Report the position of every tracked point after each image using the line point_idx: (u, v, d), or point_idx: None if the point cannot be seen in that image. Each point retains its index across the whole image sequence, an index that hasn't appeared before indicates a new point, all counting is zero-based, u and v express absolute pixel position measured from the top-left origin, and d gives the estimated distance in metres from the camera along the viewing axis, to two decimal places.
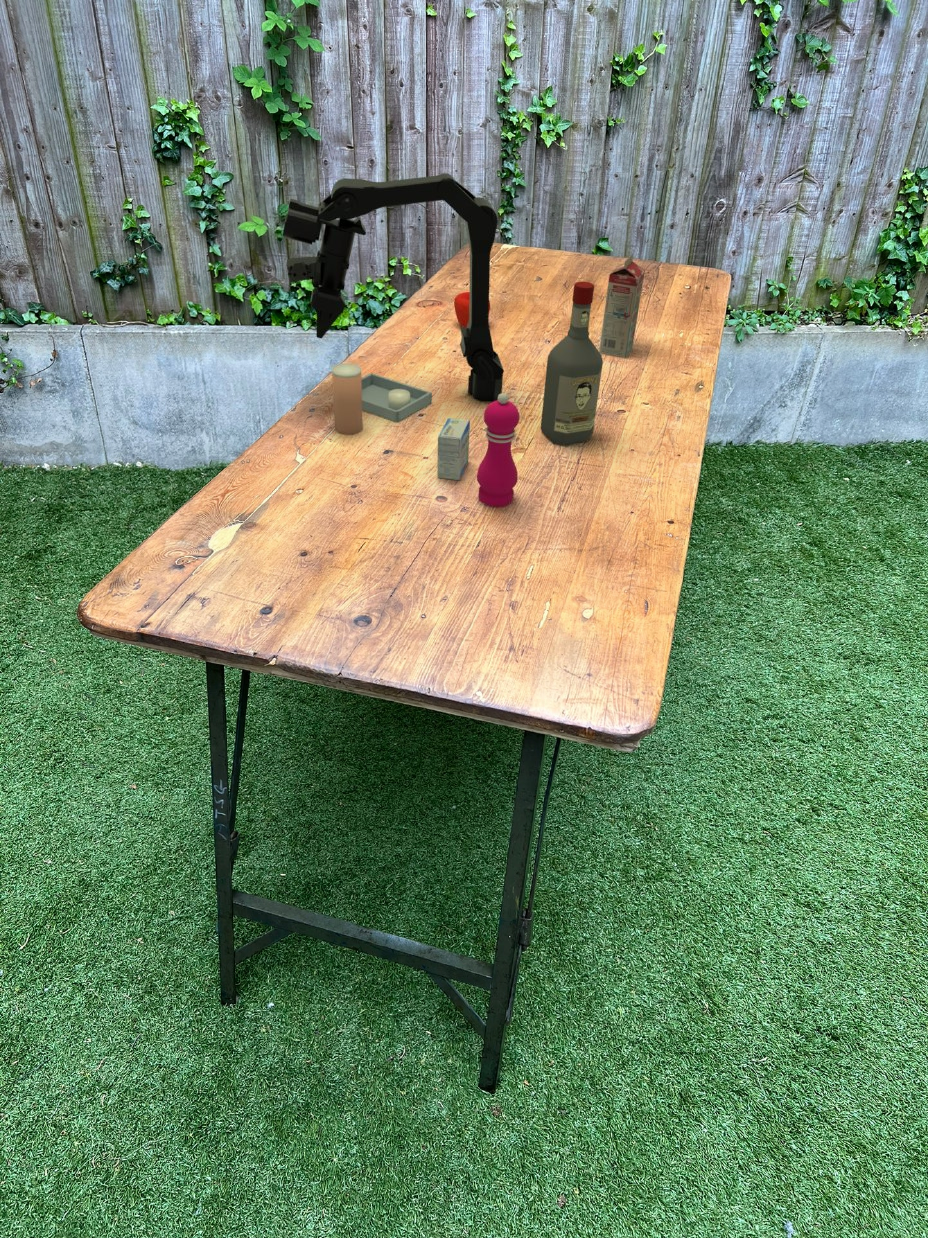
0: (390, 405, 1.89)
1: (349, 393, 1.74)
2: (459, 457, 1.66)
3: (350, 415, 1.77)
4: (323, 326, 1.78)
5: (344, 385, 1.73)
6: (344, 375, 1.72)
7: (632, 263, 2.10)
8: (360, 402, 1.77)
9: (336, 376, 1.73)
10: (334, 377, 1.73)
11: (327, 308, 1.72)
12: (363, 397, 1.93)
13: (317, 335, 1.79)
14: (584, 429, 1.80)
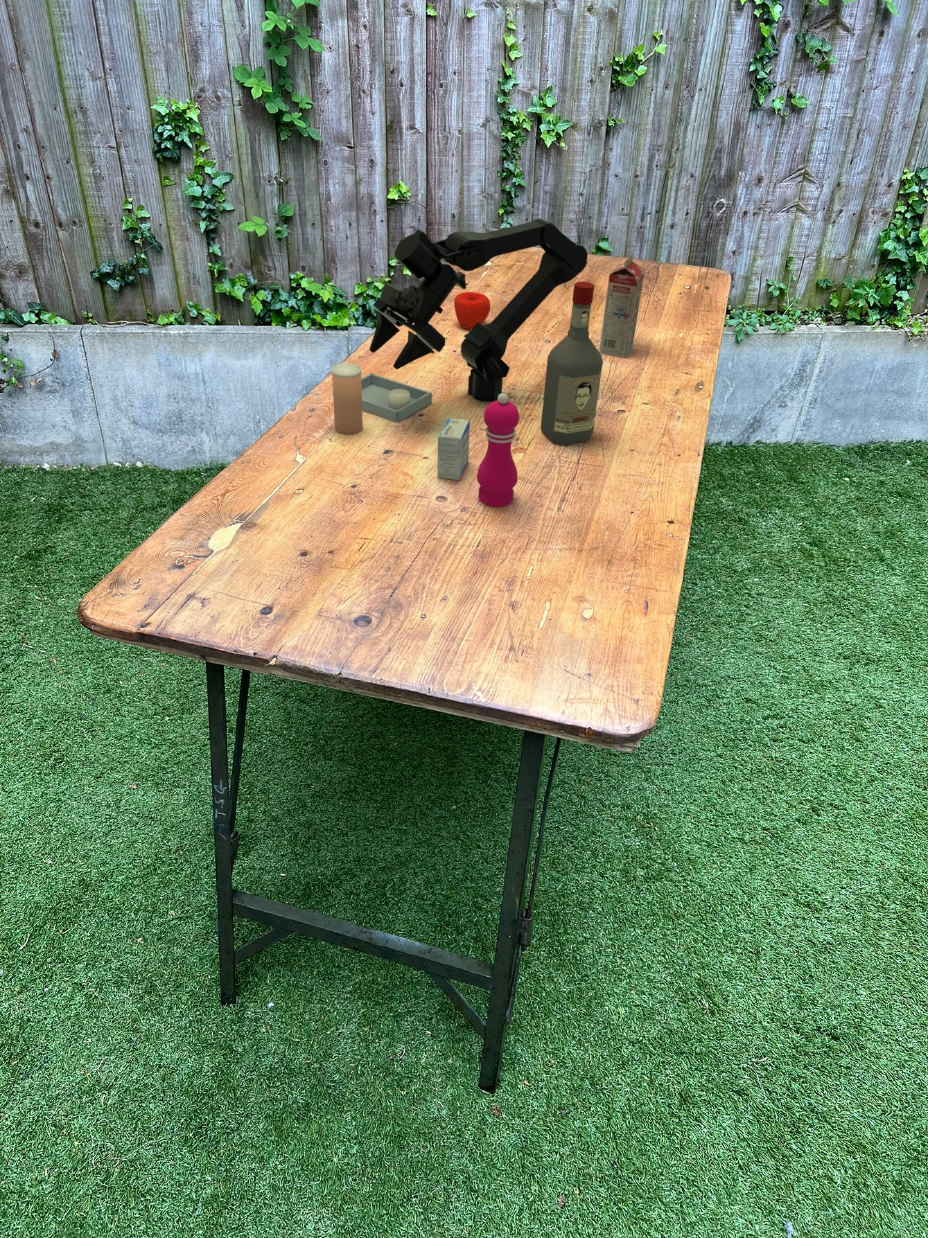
0: (390, 405, 1.89)
1: (349, 393, 1.74)
2: (459, 457, 1.66)
3: (350, 415, 1.77)
4: (407, 358, 1.74)
5: (344, 385, 1.73)
6: (344, 375, 1.72)
7: (632, 263, 2.10)
8: (360, 402, 1.77)
9: (336, 376, 1.73)
10: (334, 377, 1.73)
11: (432, 343, 1.71)
12: (363, 397, 1.93)
13: (395, 365, 1.74)
14: (584, 429, 1.80)
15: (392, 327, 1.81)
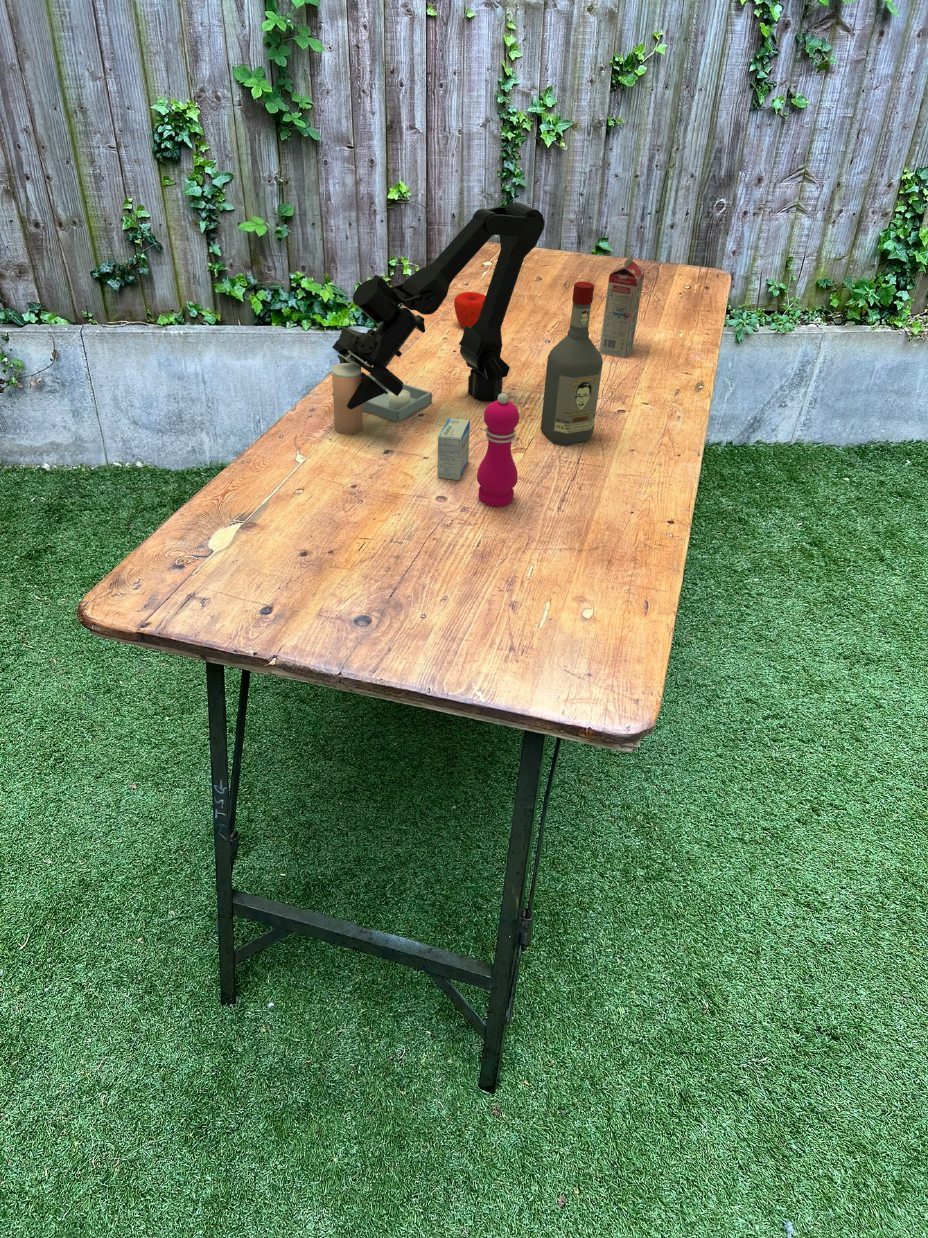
0: (390, 405, 1.89)
1: (349, 393, 1.74)
2: (459, 457, 1.66)
3: (350, 415, 1.77)
4: (360, 399, 1.75)
5: (344, 385, 1.73)
6: (344, 375, 1.72)
7: (632, 263, 2.10)
8: None
9: (336, 376, 1.73)
10: (334, 377, 1.73)
11: (390, 388, 1.71)
12: None
13: (349, 405, 1.75)
14: (584, 429, 1.80)
15: None
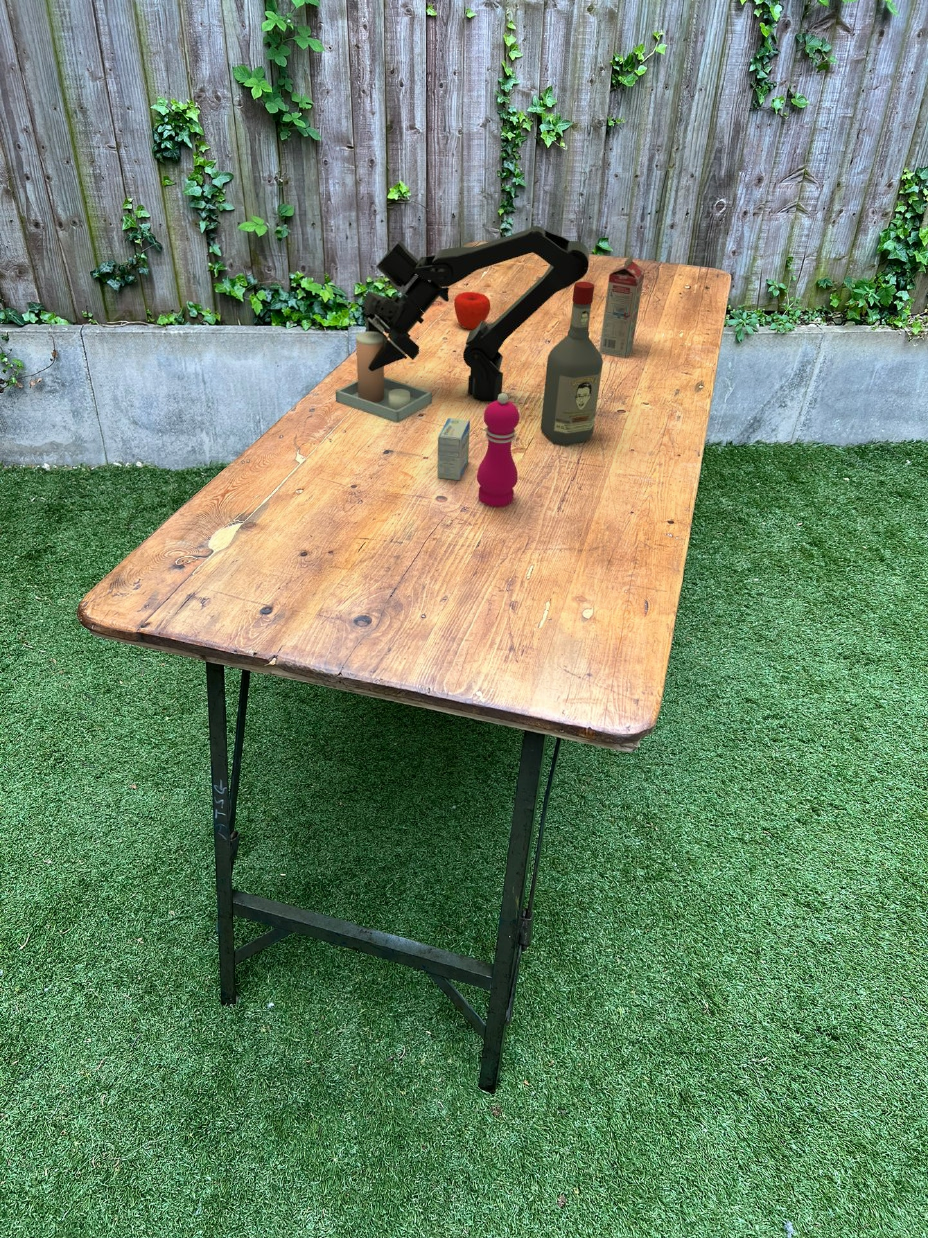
0: (390, 405, 1.89)
1: (370, 359, 1.85)
2: (459, 457, 1.66)
3: (370, 381, 1.88)
4: (381, 362, 1.84)
5: (365, 351, 1.84)
6: (365, 342, 1.83)
7: (632, 263, 2.10)
8: (381, 369, 1.88)
9: (359, 342, 1.84)
10: (357, 343, 1.85)
11: (405, 350, 1.80)
12: None
13: (370, 367, 1.85)
14: (584, 429, 1.80)
15: None
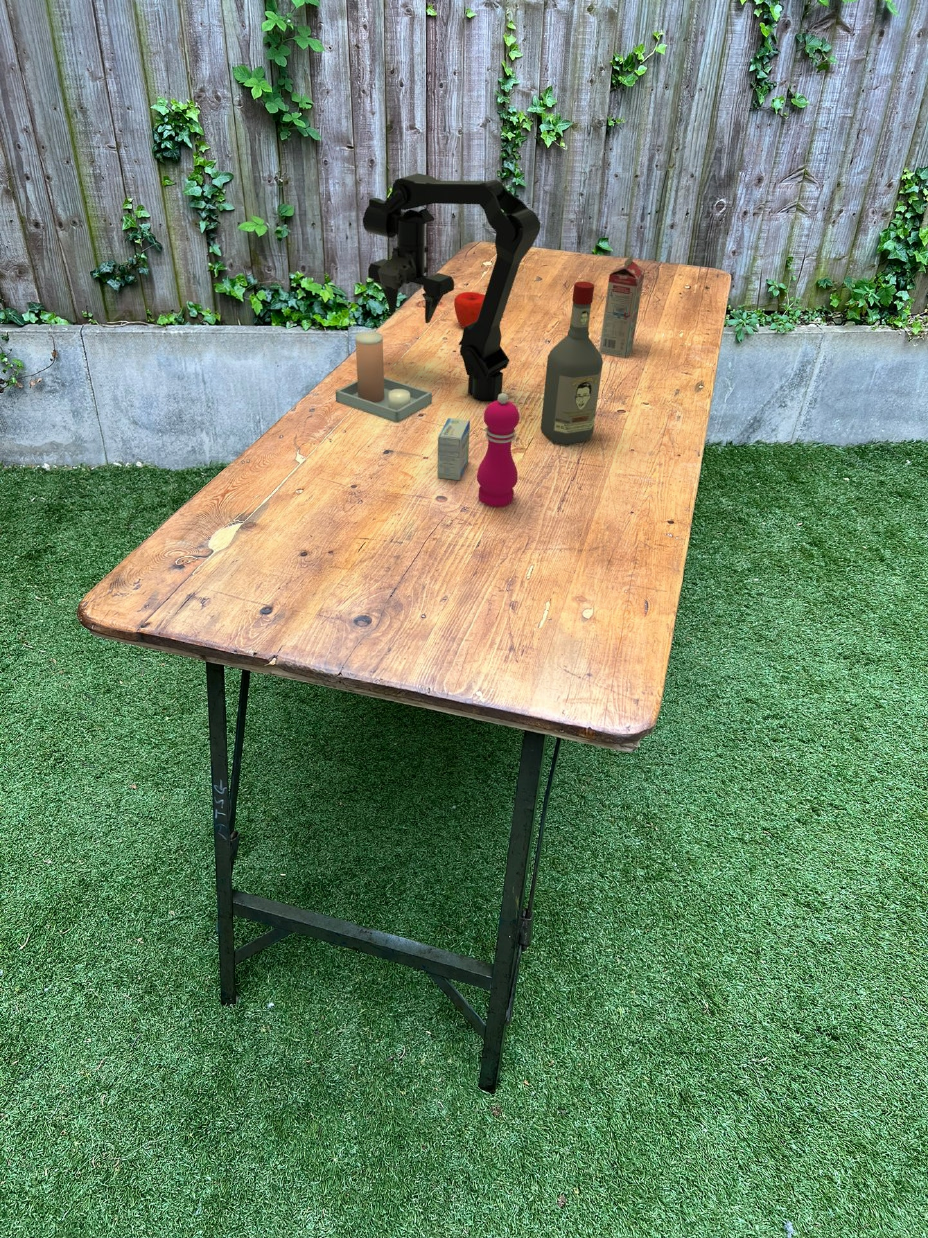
0: (390, 405, 1.89)
1: (370, 359, 1.85)
2: (459, 457, 1.66)
3: (370, 380, 1.88)
4: (432, 310, 1.93)
5: (365, 351, 1.84)
6: (365, 342, 1.83)
7: (632, 263, 2.10)
8: (381, 369, 1.88)
9: (358, 342, 1.84)
10: (356, 343, 1.85)
11: (447, 291, 1.89)
12: None
13: (427, 321, 1.95)
14: (584, 429, 1.80)
15: None
